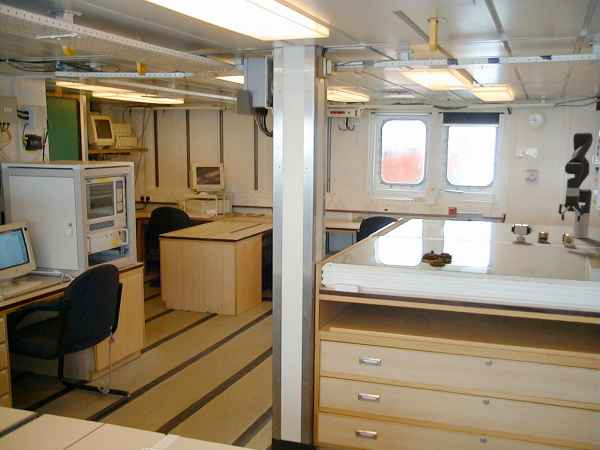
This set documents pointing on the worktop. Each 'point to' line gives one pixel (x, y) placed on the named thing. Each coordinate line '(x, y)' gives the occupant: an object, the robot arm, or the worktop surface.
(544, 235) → the pipe stubs
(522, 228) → the pneumatic valve
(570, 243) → the block
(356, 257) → the worktop surface
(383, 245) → the worktop surface
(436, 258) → the gear puzzle
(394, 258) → the worktop surface
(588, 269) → the worktop surface
